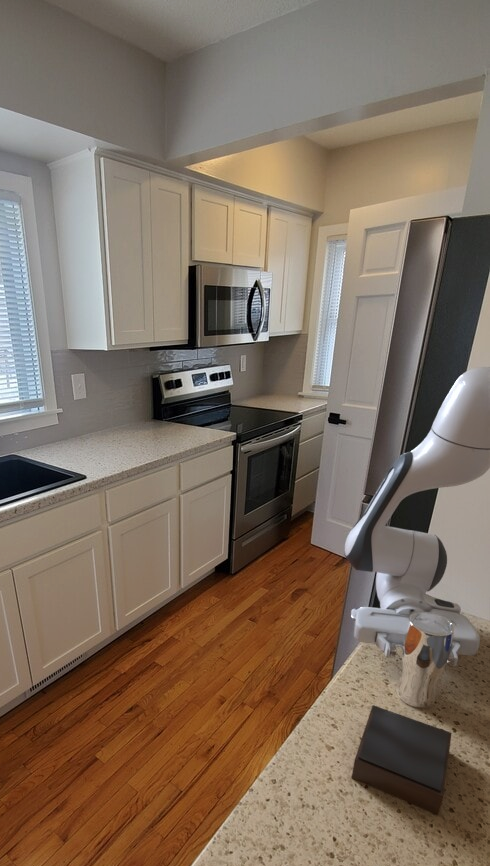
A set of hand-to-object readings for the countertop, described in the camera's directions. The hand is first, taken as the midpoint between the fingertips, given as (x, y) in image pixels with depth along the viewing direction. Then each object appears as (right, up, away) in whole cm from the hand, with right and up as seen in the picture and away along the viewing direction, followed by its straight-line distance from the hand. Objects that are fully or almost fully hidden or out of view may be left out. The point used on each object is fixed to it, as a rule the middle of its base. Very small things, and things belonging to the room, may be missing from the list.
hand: (421, 658), depth 82 cm
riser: (-9, -13, -11) cm, 19 cm away
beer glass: (0, -7, +2) cm, 7 cm away
